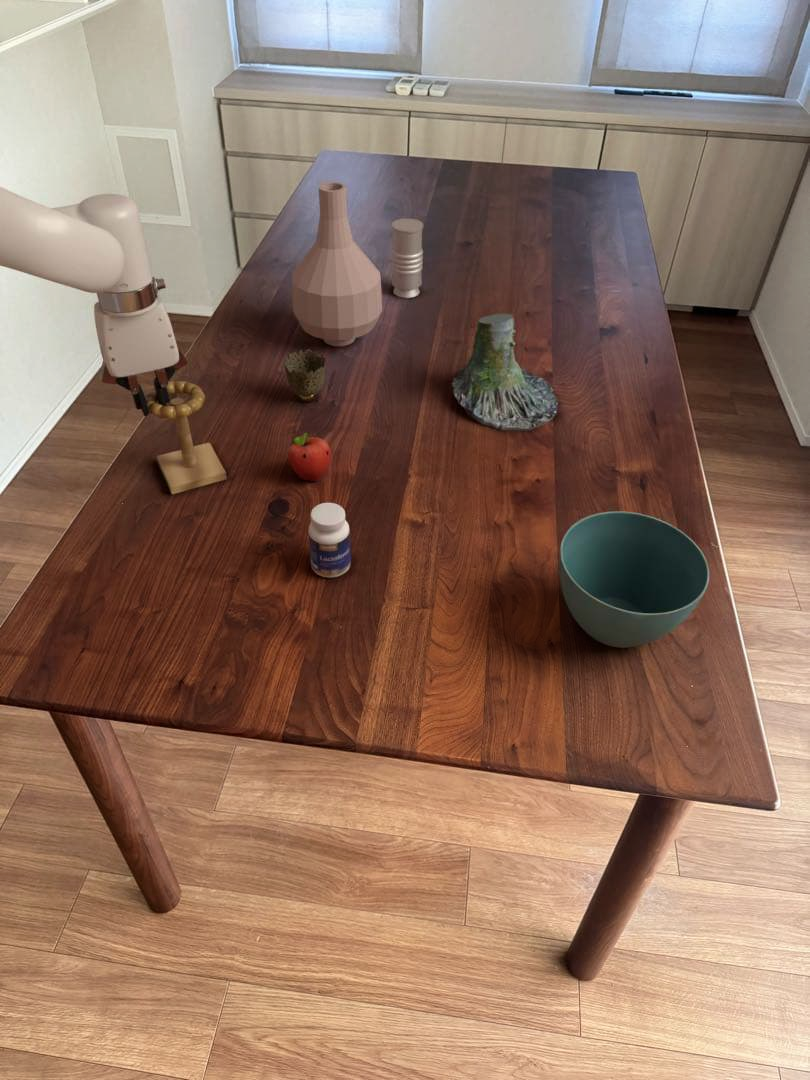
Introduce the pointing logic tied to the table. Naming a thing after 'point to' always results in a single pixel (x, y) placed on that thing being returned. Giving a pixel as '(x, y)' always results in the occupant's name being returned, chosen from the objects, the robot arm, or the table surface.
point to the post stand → (189, 460)
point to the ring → (177, 410)
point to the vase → (336, 278)
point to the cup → (305, 374)
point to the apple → (309, 457)
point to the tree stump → (502, 381)
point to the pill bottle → (329, 540)
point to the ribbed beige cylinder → (407, 257)
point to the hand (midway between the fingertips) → (153, 408)
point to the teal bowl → (630, 577)
